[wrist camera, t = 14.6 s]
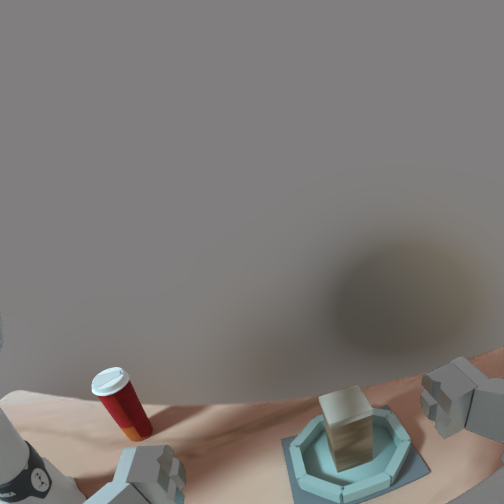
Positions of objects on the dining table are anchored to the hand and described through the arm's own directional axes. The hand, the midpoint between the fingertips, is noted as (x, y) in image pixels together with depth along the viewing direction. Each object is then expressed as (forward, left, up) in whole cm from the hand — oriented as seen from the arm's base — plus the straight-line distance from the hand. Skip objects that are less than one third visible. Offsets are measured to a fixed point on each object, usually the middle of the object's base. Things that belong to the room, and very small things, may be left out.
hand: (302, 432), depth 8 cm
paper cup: (-30, +36, -32) cm, 57 cm away
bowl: (+6, +20, -31) cm, 38 cm away
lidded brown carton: (+6, +20, -30) cm, 37 cm away
